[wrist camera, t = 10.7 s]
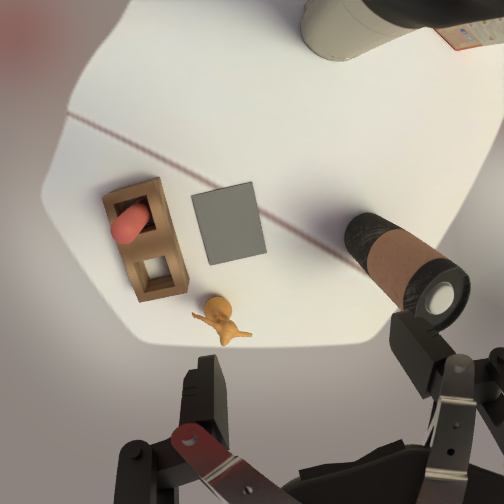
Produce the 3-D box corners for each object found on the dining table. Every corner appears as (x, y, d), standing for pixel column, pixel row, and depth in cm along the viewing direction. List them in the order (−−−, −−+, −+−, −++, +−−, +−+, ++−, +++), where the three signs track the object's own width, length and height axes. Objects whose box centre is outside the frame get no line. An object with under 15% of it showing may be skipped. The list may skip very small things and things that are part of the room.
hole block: (112, 191, 38) (101, 197, 35) (159, 177, 39) (153, 181, 35) (145, 288, 44) (139, 302, 40) (189, 279, 44) (187, 292, 41)
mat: (192, 195, 40) (191, 196, 40) (252, 182, 40) (252, 182, 40) (210, 264, 44) (210, 265, 43) (266, 252, 44) (266, 252, 44)
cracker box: (457, 53, 34) (552, 41, 15) (432, 28, 33) (526, 3, 13) (474, 7, 30) (555, -11, 11) (451, -15, 29) (531, -44, 9)
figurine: (187, 304, 46) (179, 355, 35) (202, 270, 44) (197, 317, 33) (237, 322, 48) (243, 376, 37) (255, 291, 46) (265, 341, 35)
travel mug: (346, 265, 46) (412, 346, 27) (338, 218, 43) (413, 282, 24) (389, 251, 46) (468, 318, 27) (384, 205, 43) (474, 256, 24)
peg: (130, 201, 39) (107, 221, 31) (151, 195, 39) (131, 213, 31) (137, 222, 40) (115, 246, 32) (157, 216, 40) (140, 240, 32)
